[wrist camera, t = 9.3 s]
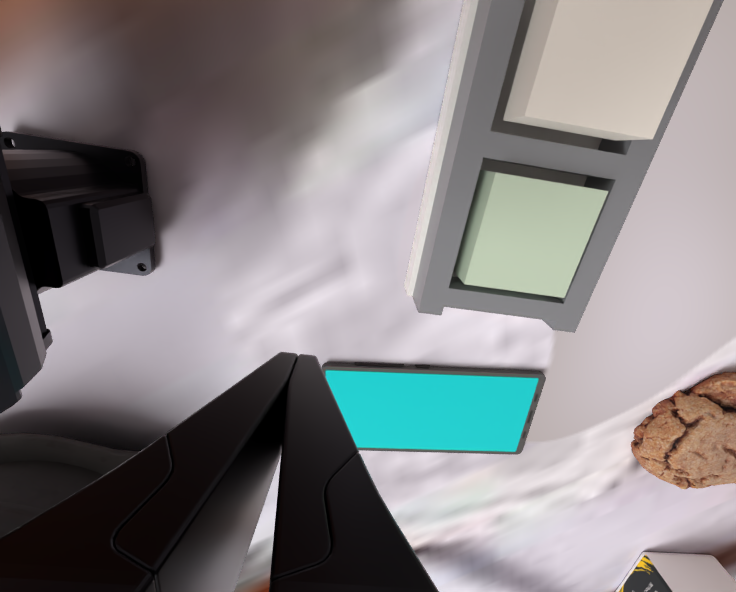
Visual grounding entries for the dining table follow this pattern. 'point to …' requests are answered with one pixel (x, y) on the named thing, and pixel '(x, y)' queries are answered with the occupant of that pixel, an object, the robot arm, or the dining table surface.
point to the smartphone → (435, 406)
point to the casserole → (47, 473)
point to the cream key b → (603, 65)
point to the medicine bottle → (677, 574)
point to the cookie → (692, 435)
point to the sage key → (526, 233)
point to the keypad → (516, 168)
